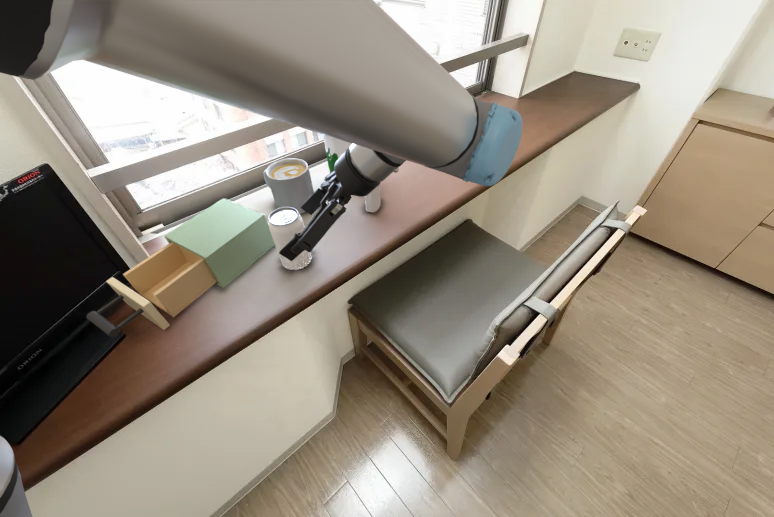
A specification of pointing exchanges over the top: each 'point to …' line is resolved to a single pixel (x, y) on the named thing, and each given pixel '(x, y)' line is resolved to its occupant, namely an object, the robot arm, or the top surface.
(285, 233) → the can
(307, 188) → the coffee mug
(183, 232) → the cabinet
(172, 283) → the drawer
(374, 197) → the eye dropper bottle
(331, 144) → the milk carton
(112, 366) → the top surface
